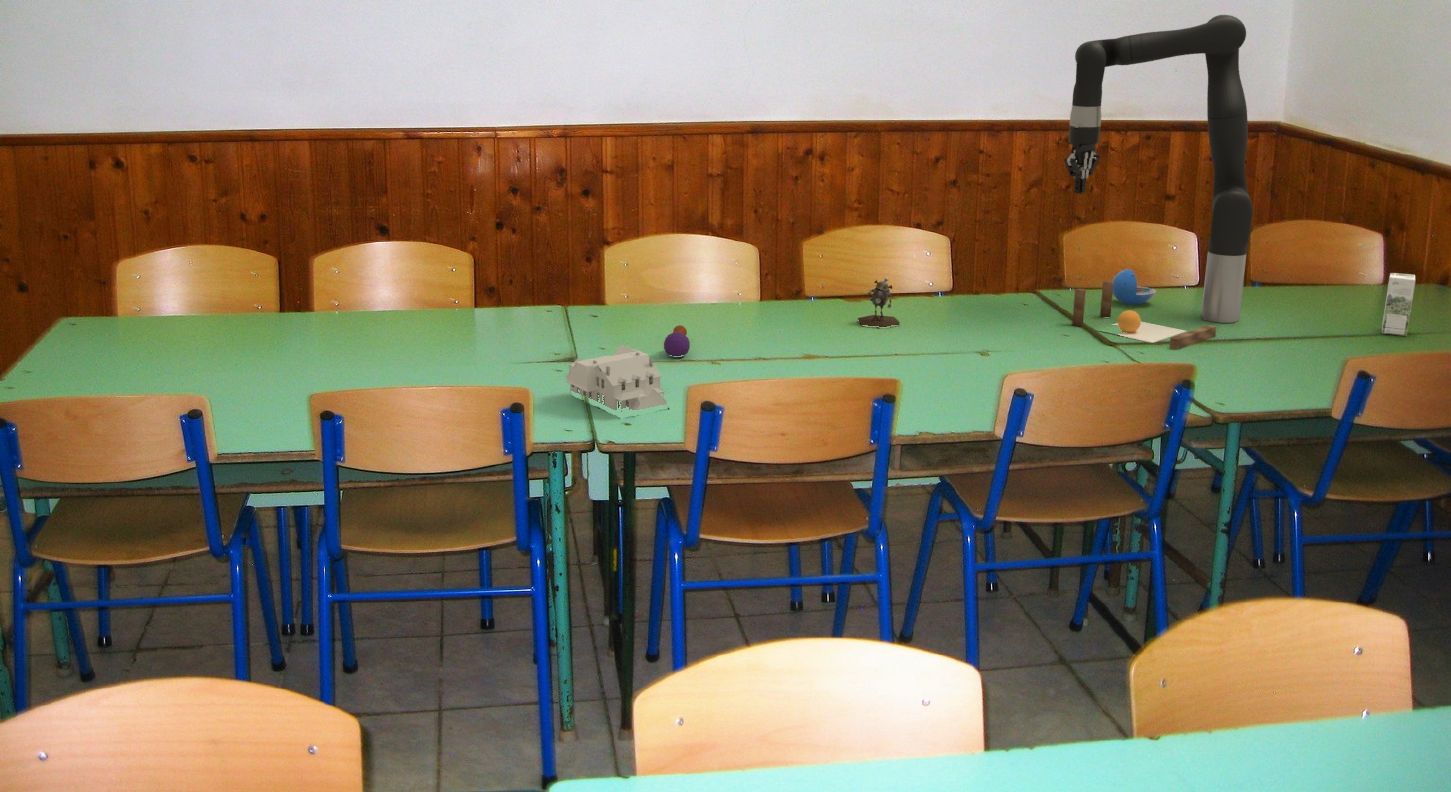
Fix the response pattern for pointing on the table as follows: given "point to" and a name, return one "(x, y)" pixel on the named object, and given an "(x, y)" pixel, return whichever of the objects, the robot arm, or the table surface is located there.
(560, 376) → the table surface
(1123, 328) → the ball
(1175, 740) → the table surface
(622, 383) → the house model
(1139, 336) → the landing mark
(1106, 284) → the post far
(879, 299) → the robot figurine
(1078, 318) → the post near
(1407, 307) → the syrup box
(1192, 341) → the wall
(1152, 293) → the cell model
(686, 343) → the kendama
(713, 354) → the table surface
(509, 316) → the table surface
